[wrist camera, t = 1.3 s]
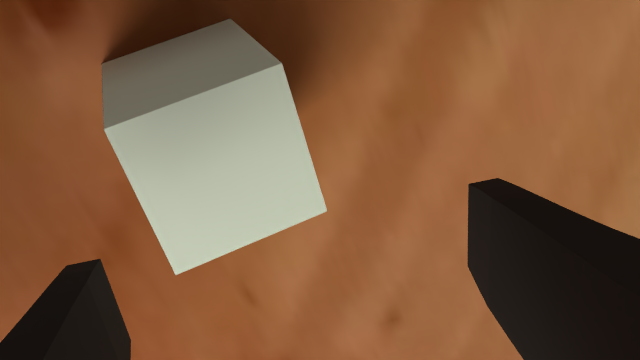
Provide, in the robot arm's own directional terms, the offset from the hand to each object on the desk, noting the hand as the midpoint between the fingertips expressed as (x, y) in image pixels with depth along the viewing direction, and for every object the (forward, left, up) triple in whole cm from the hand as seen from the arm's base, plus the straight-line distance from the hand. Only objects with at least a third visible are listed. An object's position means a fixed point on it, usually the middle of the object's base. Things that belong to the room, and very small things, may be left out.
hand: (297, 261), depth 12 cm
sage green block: (-1, 0, -11) cm, 11 cm away
